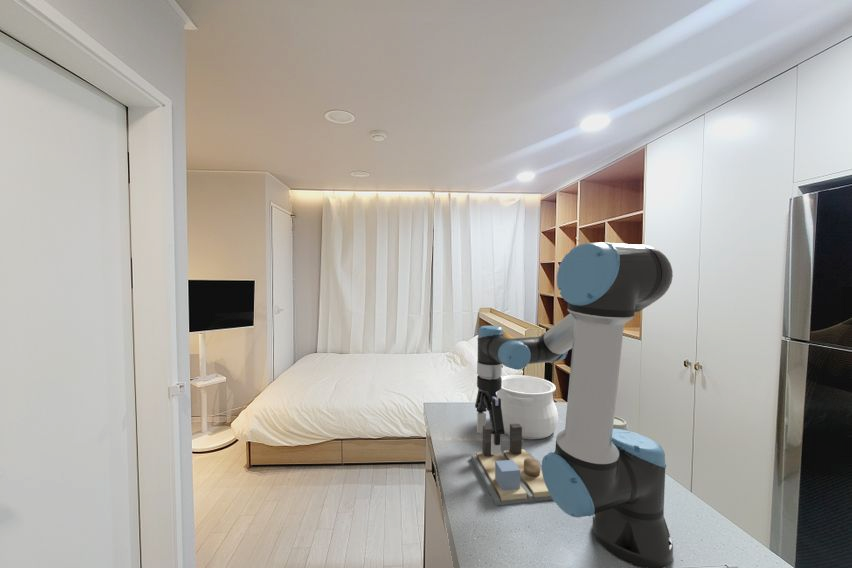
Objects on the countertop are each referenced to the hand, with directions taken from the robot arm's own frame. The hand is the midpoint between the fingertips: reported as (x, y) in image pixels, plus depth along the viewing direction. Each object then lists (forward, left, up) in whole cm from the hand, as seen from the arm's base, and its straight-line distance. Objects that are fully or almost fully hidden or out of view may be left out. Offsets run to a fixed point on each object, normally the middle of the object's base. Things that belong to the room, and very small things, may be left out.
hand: (488, 442), depth 107 cm
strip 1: (-10, 0, -6) cm, 11 cm away
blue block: (-16, 0, -4) cm, 16 cm away
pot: (+20, -22, -6) cm, 30 cm away
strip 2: (-10, -9, -6) cm, 14 cm away
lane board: (-10, -5, -6) cm, 12 cm away
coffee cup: (-4, -41, -6) cm, 41 cm away
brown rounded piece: (-12, -9, -4) cm, 15 cm away
